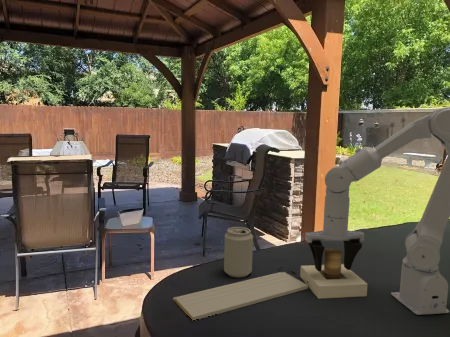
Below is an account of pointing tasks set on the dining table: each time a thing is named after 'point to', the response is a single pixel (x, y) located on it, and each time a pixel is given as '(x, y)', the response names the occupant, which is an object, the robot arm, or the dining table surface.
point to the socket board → (333, 283)
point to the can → (238, 252)
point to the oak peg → (332, 263)
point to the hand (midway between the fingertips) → (332, 269)
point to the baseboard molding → (238, 295)
